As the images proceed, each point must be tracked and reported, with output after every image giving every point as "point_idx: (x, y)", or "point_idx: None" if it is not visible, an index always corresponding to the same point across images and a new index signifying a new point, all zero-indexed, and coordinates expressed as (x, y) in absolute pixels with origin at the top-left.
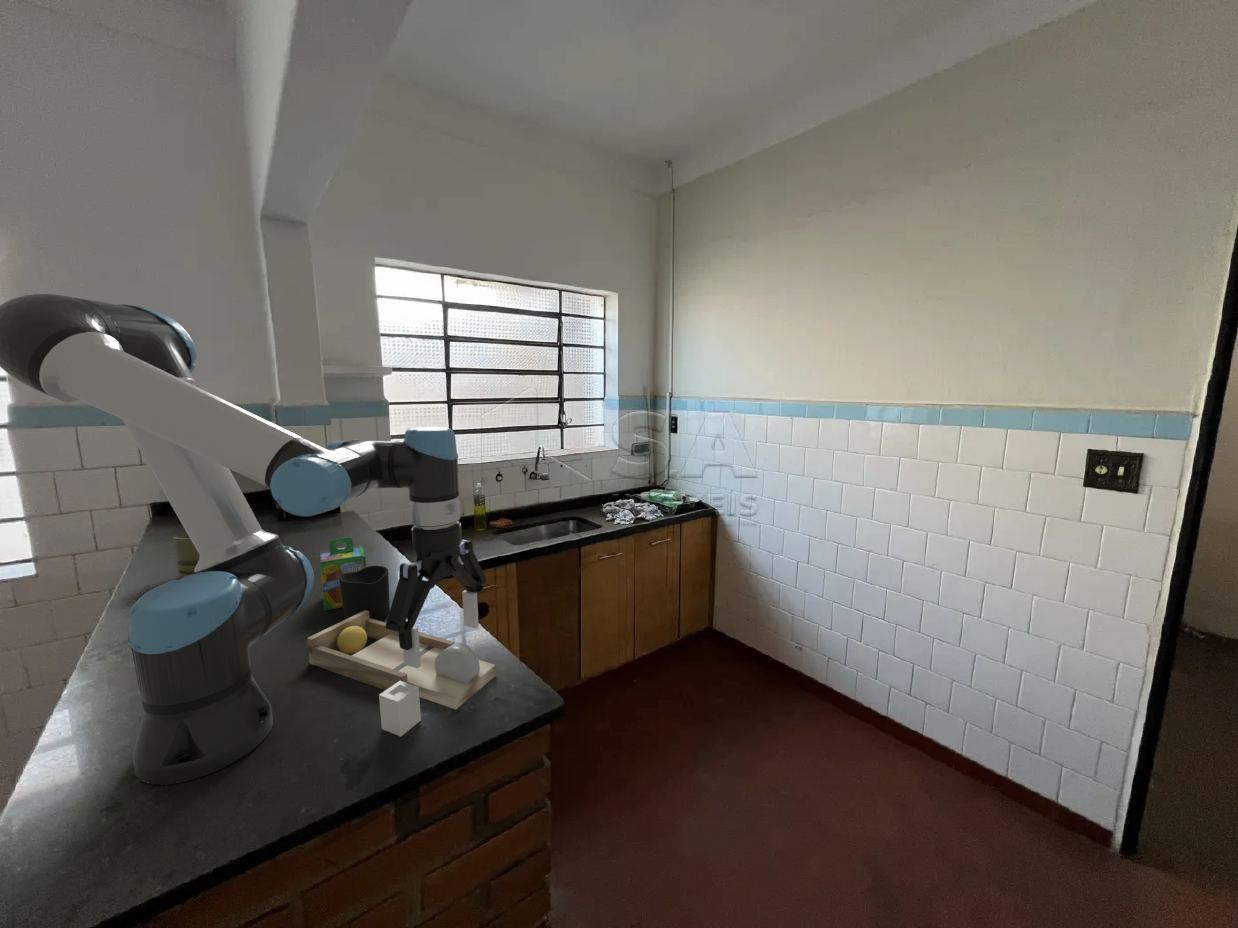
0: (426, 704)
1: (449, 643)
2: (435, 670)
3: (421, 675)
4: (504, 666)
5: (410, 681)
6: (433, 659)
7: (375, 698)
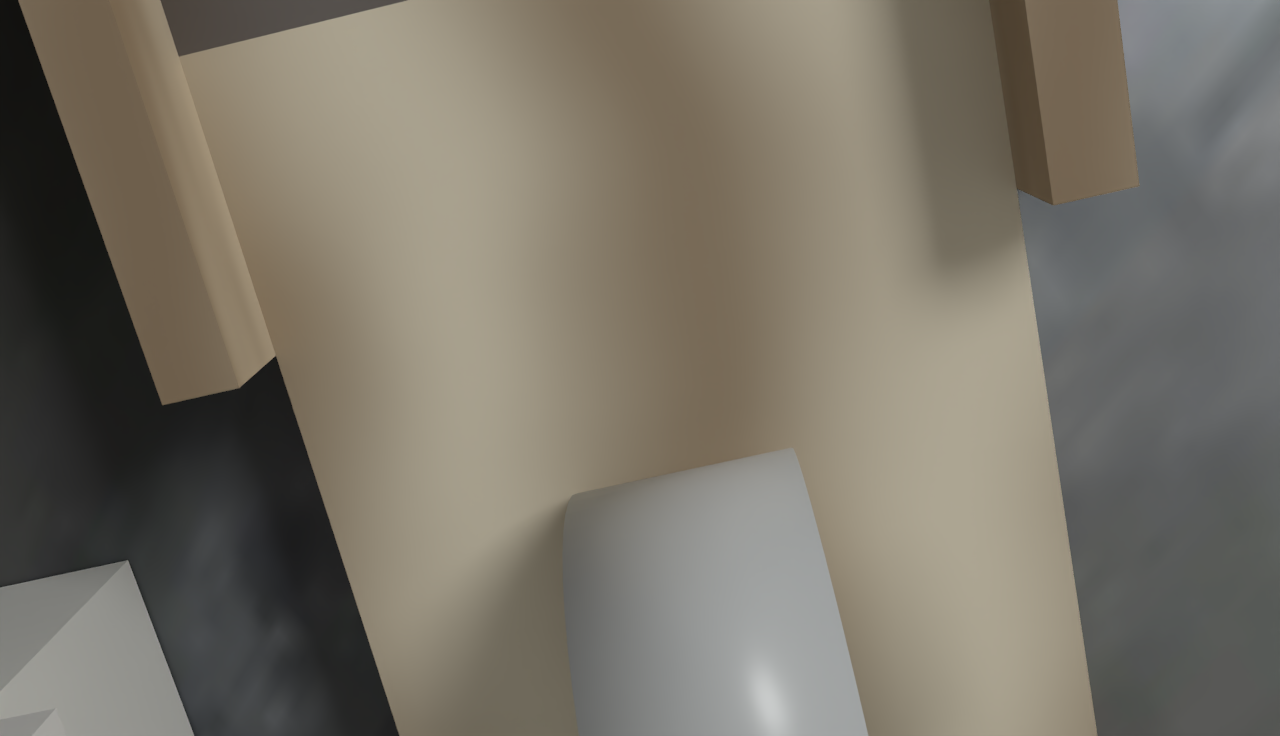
0: (350, 614)
1: (1061, 164)
2: (572, 498)
3: (452, 365)
4: (1236, 708)
5: (304, 367)
6: (755, 158)
7: (26, 113)
